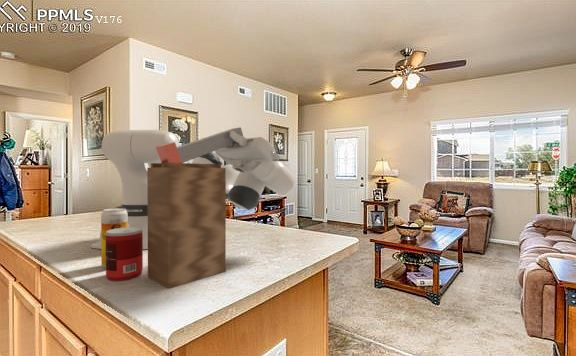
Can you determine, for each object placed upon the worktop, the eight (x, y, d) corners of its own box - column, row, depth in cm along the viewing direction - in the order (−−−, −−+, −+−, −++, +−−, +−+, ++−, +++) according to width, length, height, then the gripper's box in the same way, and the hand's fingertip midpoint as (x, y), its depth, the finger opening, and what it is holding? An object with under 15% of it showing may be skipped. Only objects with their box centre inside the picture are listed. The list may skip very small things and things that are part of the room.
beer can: (104, 270, 77) (104, 211, 76) (99, 265, 81) (98, 209, 81) (130, 266, 81) (130, 209, 80) (124, 261, 85) (124, 207, 85)
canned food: (148, 270, 77) (148, 227, 77) (131, 281, 69) (130, 233, 69) (119, 269, 78) (118, 226, 77) (98, 281, 70) (97, 233, 69)
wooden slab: (203, 263, 83) (203, 164, 83) (225, 271, 77) (225, 164, 76) (147, 277, 72) (147, 163, 71) (168, 288, 65) (168, 162, 65)
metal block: (236, 140, 87) (231, 123, 86) (244, 139, 85) (239, 121, 83) (163, 167, 71) (155, 147, 70) (170, 167, 69) (163, 146, 67)
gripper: (278, 170, 83) (244, 141, 74) (231, 170, 96) (198, 146, 87) (286, 150, 85) (254, 120, 76) (239, 153, 99) (207, 128, 89)
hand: (224, 134), depth 82 cm, fingers closed on metal block, 3 cm apart
